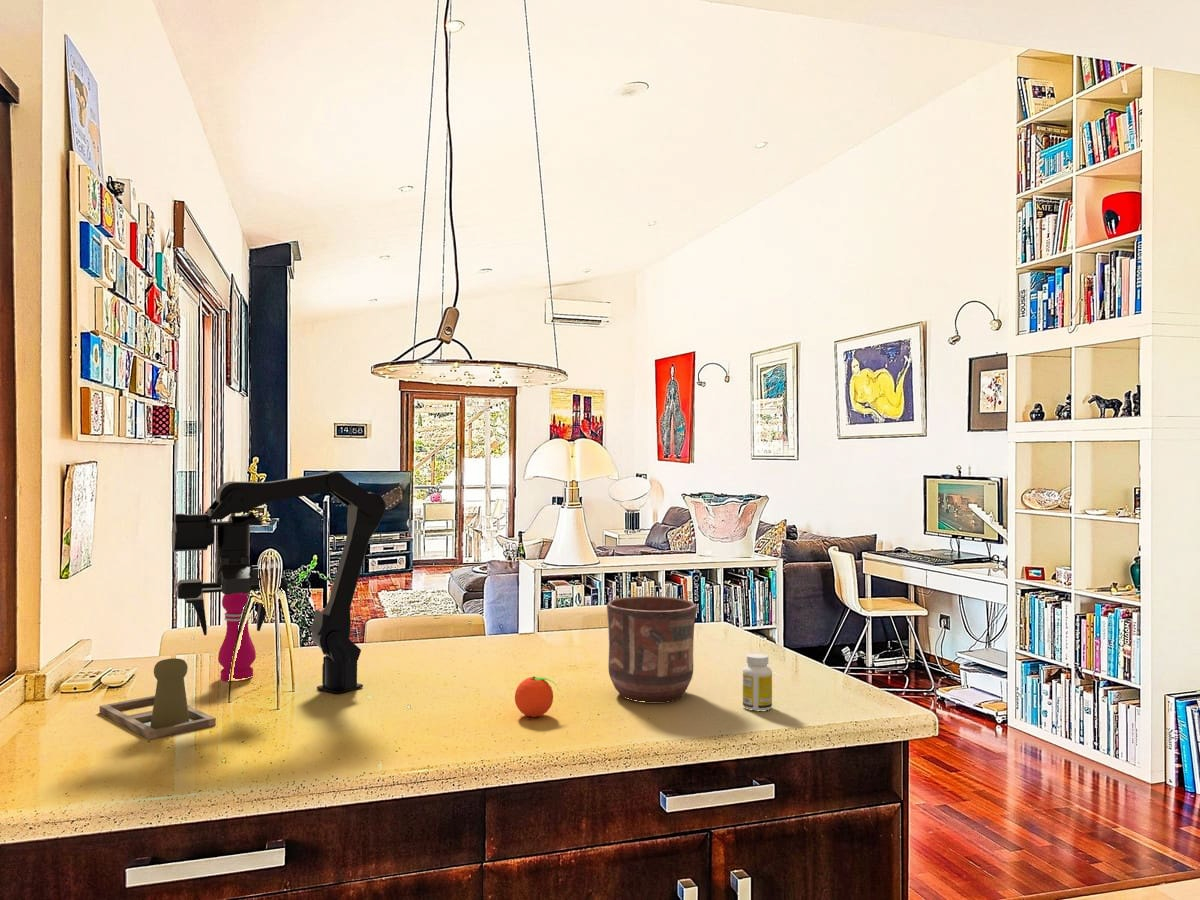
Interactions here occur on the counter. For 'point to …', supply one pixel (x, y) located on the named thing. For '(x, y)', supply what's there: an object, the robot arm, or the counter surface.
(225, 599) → the pepper mill
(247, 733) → the counter surface
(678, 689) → the pottery
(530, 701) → the clementine
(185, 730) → the brown wooden frame
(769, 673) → the supplement bottle
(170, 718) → the cork
